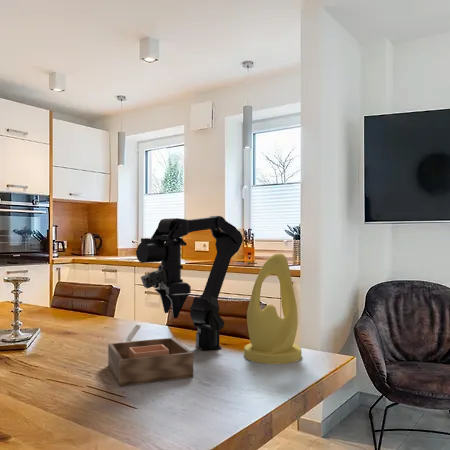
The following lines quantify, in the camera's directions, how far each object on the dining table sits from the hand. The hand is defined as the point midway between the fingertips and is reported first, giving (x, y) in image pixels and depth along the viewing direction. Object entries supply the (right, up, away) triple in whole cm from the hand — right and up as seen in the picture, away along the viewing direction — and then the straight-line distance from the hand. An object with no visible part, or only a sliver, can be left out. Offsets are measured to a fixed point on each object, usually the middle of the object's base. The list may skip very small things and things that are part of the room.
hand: (170, 315), depth 131 cm
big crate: (-4, -12, -14) cm, 19 cm away
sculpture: (+30, -12, +1) cm, 32 cm away
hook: (-12, -12, +1) cm, 18 cm away
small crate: (-4, -11, -14) cm, 18 cm away
